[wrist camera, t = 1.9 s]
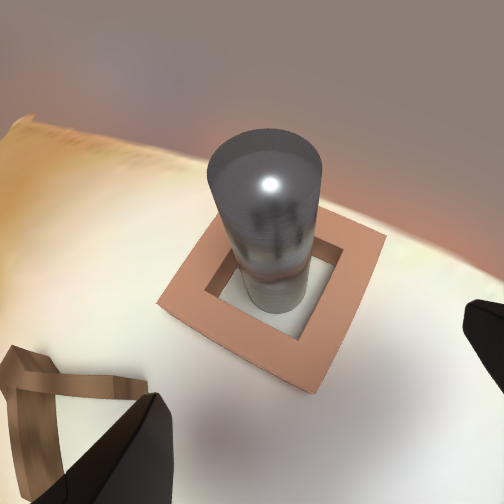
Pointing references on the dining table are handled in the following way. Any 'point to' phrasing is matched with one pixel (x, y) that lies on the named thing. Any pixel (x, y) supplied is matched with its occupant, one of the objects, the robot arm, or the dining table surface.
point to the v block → (47, 412)
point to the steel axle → (269, 211)
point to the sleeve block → (260, 334)
